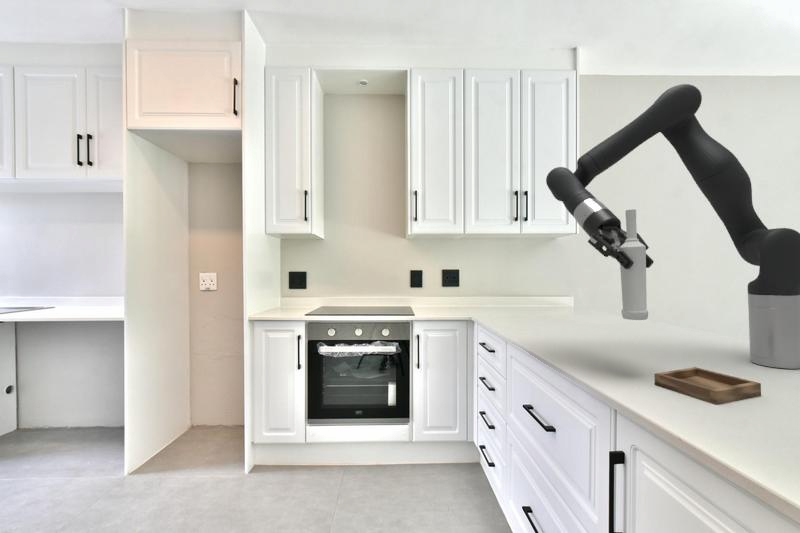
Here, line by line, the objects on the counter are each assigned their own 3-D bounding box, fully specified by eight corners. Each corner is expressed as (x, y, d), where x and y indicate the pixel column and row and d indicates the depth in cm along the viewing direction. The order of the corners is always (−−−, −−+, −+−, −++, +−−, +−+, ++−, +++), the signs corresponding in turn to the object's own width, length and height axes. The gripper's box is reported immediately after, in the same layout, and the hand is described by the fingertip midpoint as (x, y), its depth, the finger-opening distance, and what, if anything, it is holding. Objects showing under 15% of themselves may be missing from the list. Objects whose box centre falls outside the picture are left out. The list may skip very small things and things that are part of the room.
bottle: (652, 320, 81) (648, 207, 80) (627, 320, 82) (622, 209, 81) (642, 316, 86) (638, 210, 85) (618, 316, 87) (614, 212, 86)
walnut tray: (695, 377, 82) (695, 367, 82) (761, 395, 70) (760, 383, 70) (654, 384, 78) (654, 373, 78) (716, 404, 67) (716, 391, 67)
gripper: (580, 207, 89) (625, 254, 77) (626, 207, 93) (675, 252, 81) (565, 231, 94) (605, 279, 82) (610, 230, 98) (654, 275, 86)
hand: (640, 265), depth 82 cm, fingers closed on bottle, 5 cm apart
